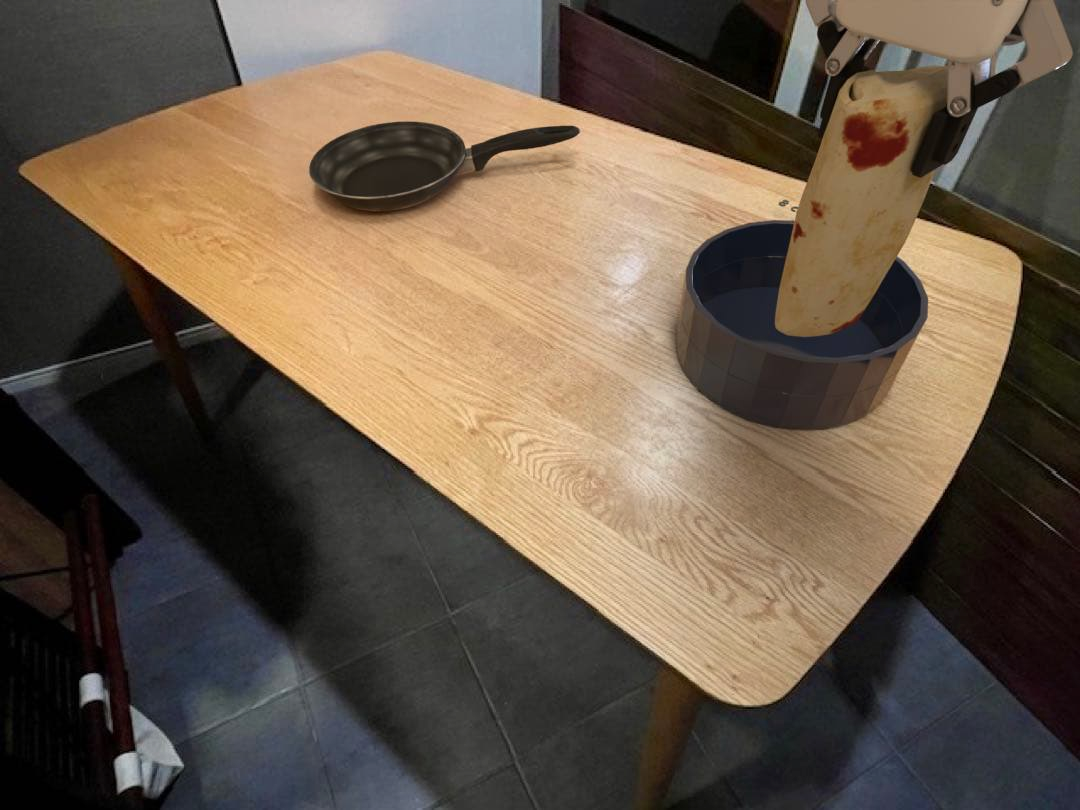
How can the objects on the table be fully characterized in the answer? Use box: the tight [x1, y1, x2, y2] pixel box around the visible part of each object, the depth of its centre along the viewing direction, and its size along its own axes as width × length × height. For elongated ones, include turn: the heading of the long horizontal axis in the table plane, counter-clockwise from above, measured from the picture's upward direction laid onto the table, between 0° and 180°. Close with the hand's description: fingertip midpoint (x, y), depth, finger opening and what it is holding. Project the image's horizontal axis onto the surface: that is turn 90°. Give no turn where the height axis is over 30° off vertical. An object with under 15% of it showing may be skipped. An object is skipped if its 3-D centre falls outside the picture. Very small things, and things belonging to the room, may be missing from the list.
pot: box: [675, 219, 929, 431], centre depth 72 cm, size 24×24×10 cm
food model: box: [775, 65, 948, 337], centre depth 46 cm, size 10×7×20 cm
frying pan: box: [308, 120, 581, 212], centre depth 104 cm, size 44×25×7 cm, turn 94°
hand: (879, 148), depth 43 cm, fingers closed on food model, 6 cm apart
